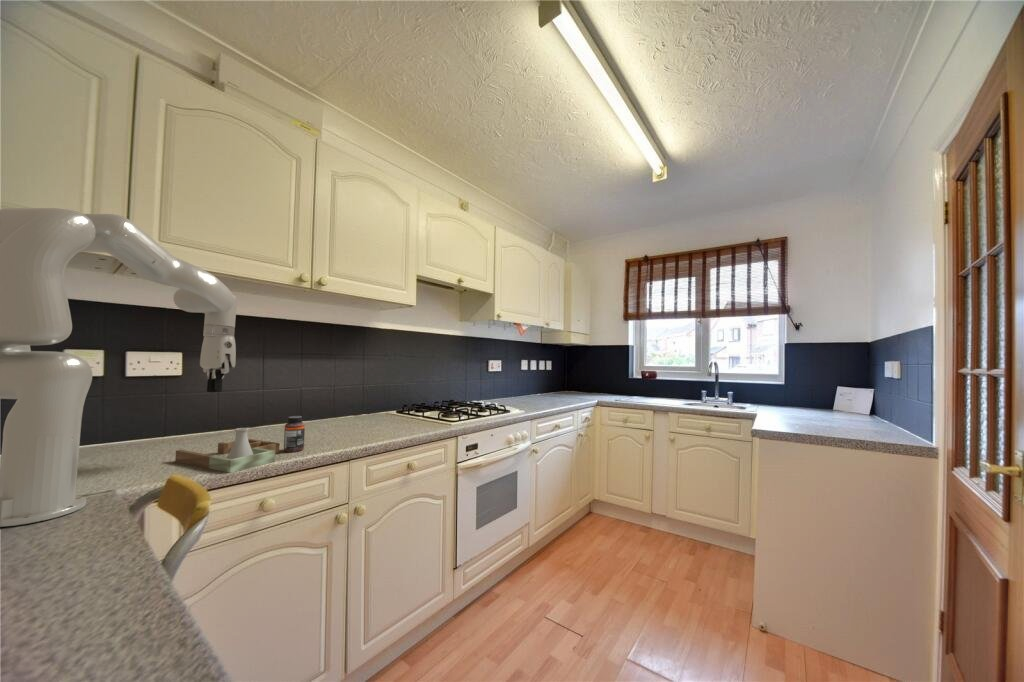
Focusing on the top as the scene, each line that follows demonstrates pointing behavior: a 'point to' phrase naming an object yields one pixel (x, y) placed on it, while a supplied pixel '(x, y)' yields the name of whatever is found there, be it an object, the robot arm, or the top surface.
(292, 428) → the supplement bottle
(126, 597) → the top surface
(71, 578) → the top surface
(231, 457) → the flask
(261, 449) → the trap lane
